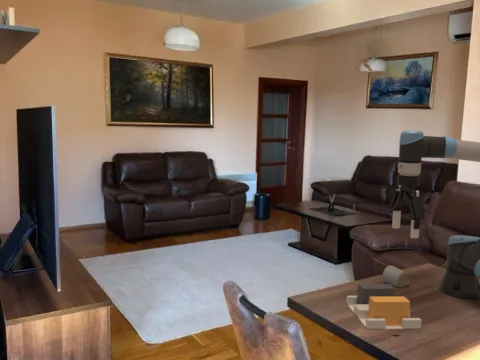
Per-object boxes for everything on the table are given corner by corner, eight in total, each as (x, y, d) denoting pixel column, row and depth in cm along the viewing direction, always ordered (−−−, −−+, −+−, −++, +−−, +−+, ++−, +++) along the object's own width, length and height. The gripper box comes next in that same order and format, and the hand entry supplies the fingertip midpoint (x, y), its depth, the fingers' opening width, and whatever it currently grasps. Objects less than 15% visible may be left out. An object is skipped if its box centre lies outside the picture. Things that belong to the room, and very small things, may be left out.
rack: (393, 305, 162) (394, 295, 161) (420, 331, 142) (421, 320, 142) (346, 305, 160) (346, 295, 160) (367, 331, 140) (368, 320, 140)
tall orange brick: (401, 318, 148) (403, 296, 147) (408, 325, 144) (410, 301, 143) (367, 319, 147) (369, 296, 146) (373, 325, 143) (374, 302, 142)
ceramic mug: (397, 290, 176) (399, 272, 175) (381, 284, 183) (383, 266, 182) (414, 286, 182) (416, 268, 181) (397, 280, 189) (399, 263, 188)
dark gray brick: (388, 304, 160) (390, 283, 159) (393, 310, 155) (395, 288, 154) (356, 305, 158) (358, 283, 157) (361, 310, 154) (362, 288, 153)
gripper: (383, 170, 167) (379, 224, 170) (417, 179, 142) (412, 242, 145) (401, 170, 168) (398, 224, 171) (438, 179, 143) (433, 242, 146)
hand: (404, 232), depth 158 cm, fingers open, 13 cm apart
